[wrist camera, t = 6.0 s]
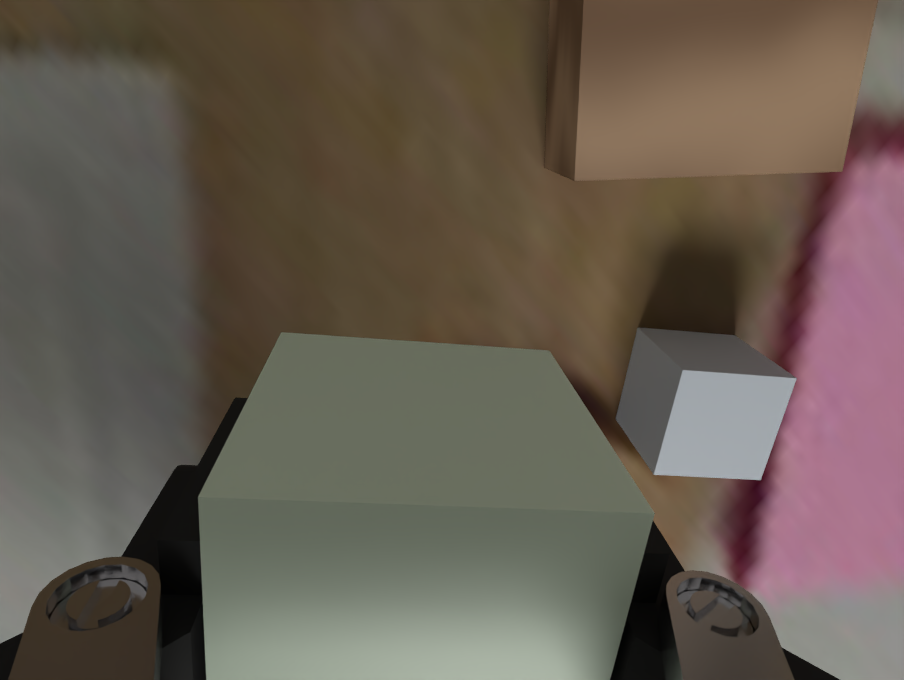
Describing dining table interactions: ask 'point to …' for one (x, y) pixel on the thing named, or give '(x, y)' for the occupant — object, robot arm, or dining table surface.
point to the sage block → (416, 520)
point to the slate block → (702, 404)
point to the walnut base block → (702, 86)
